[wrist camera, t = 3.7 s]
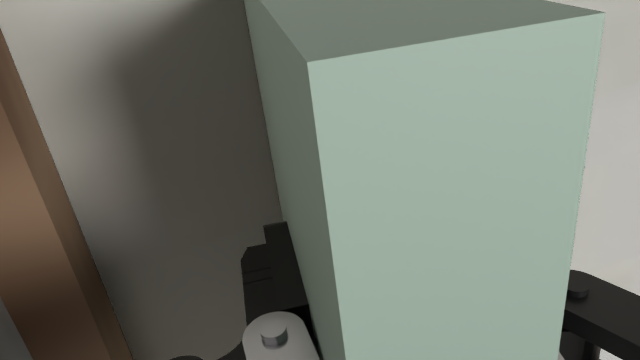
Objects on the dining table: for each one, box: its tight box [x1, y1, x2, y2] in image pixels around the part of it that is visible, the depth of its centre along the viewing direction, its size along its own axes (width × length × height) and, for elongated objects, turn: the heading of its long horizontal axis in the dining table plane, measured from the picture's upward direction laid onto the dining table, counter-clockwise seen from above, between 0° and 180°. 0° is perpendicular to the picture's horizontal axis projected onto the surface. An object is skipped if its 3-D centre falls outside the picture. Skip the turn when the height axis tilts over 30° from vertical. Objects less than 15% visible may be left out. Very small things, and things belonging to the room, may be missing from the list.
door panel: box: [244, 0, 605, 360], centre depth 11 cm, size 14×3×10 cm, turn 7°
